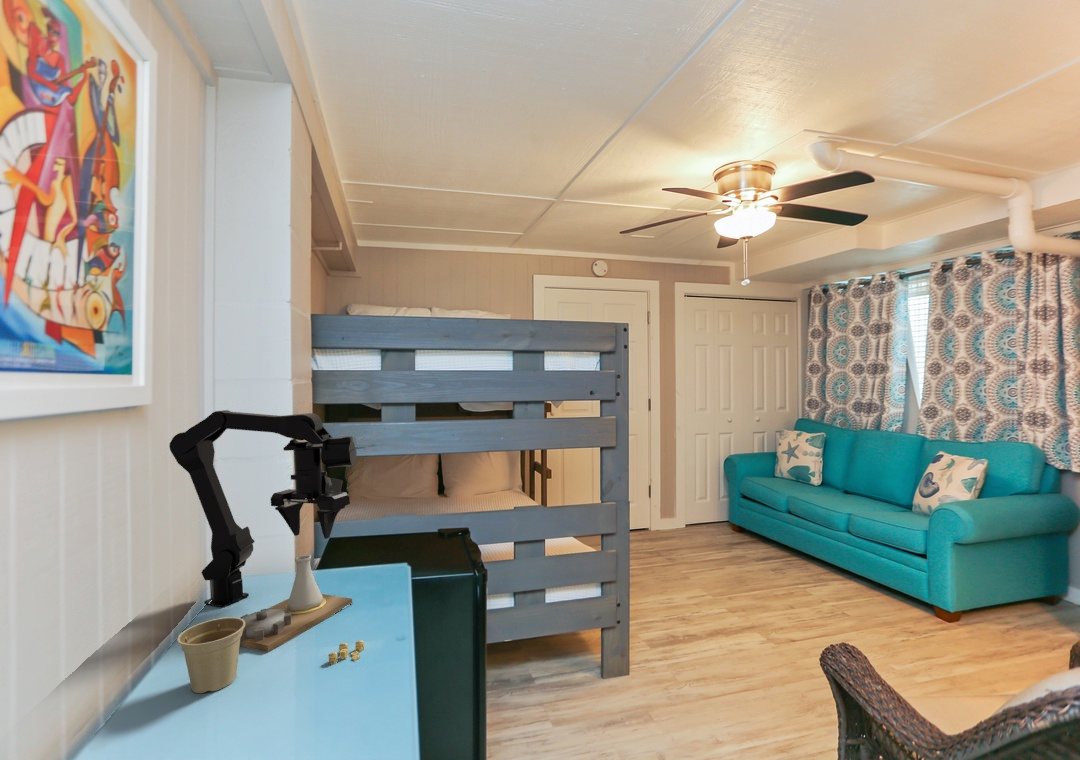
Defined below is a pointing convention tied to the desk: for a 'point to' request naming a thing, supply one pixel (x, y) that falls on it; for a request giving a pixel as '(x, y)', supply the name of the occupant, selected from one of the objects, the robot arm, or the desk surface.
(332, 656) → the dice set
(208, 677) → the flower pot
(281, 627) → the gear board
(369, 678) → the desk surface
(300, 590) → the flask
